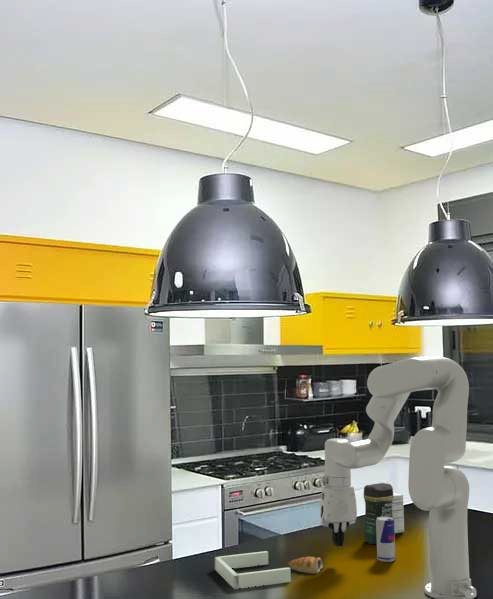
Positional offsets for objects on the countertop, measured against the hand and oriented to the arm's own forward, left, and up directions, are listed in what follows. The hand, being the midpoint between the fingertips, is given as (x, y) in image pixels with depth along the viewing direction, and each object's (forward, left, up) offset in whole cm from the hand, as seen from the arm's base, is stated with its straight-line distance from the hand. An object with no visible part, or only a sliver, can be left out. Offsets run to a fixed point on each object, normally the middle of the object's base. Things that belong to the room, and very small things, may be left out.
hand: (338, 544), depth 206 cm
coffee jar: (+16, -23, -6) cm, 29 cm away
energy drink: (-2, -15, -6) cm, 16 cm away
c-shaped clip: (-1, +27, -5) cm, 28 cm away
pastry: (-2, +11, -6) cm, 12 cm away
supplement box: (+27, -33, -6) cm, 43 cm away
